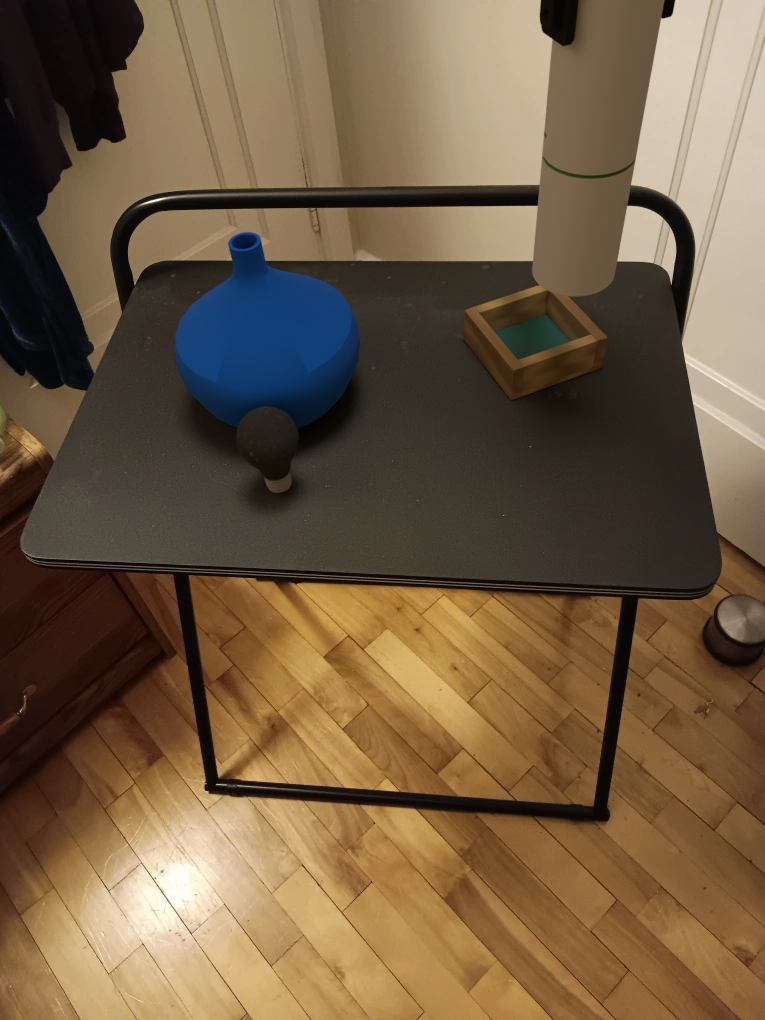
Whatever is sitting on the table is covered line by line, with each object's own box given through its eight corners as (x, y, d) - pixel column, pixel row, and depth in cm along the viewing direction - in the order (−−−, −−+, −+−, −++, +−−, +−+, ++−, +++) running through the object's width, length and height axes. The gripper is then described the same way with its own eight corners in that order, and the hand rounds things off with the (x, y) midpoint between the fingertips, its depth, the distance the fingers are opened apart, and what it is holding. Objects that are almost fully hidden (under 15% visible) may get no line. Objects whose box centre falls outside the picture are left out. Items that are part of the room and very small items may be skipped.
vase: (200, 350, 94) (152, 196, 79) (360, 334, 94) (342, 176, 79) (188, 471, 82) (129, 317, 68) (371, 452, 82) (352, 294, 67)
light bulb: (252, 470, 82) (230, 396, 74) (308, 463, 82) (292, 389, 74) (251, 514, 78) (229, 442, 71) (310, 507, 78) (294, 434, 71)
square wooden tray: (549, 310, 94) (552, 280, 91) (602, 367, 88) (607, 337, 84) (463, 339, 92) (464, 309, 89) (511, 400, 86) (513, 370, 82)
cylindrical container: (611, 246, 74) (667, -81, 55) (618, 296, 70) (682, -41, 50) (531, 247, 75) (558, -75, 56) (532, 296, 71) (563, -36, 51)
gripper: (547, -309, 39) (522, 77, 53) (841, -360, 43) (746, 14, 57) (473, -326, 44) (468, 35, 57) (745, -371, 47) (678, -21, 61)
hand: (606, 22), depth 57 cm, fingers closed on cylindrical container, 7 cm apart
